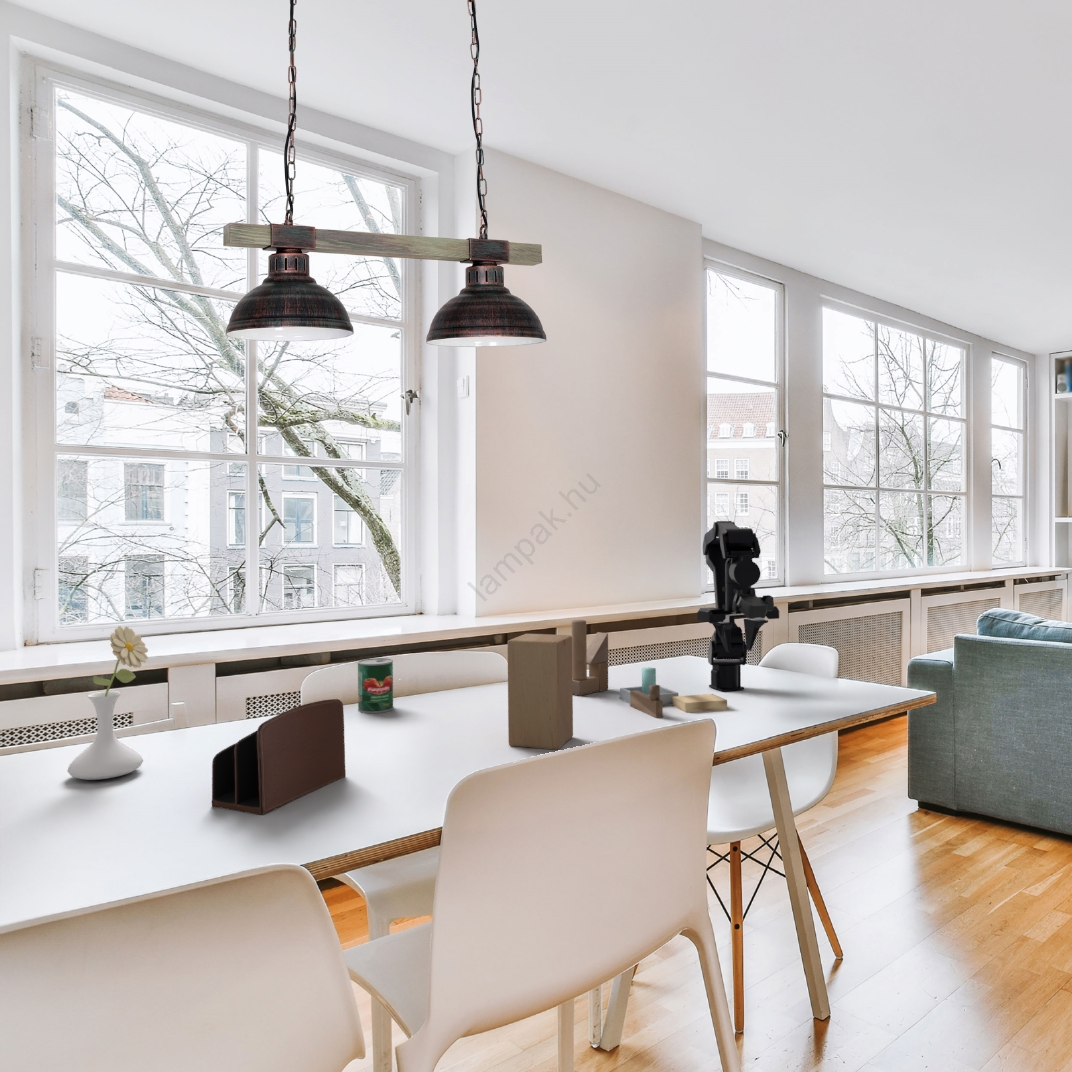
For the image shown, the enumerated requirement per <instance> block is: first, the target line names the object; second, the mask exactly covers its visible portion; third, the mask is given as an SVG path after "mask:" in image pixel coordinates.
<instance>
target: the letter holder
mask: <svg viewBox="0 0 1072 1072" xmlns="http://www.w3.org/2000/svg"><path fill="white" fill-rule="evenodd" d="M345 748H346V745H345V716H344V704H343V702H342V700H340V699H338V698H336V699H335V698H334V699H323V700H319V701H318V700H317V701H313V702H309V703H308V702H307V703H304V704H301V705H297V706H295V707H293V708H290V709H288V710H285V711H283V712H281V713H279V714H277V715H274V716H273V717H271V718H269V719H268V720H265V721H263V722H262V723H260V725H259V726H258V727H257V729H256V730H255V731H253V732H252V733H249V734H248V735H246V736H245V737H243V738H241V739H239V740H238V741H237V742H235V743H233V744H232V745H229V746H227V747H226V748H223V749H221V751H219V752H218V753H216V754H215V756H214V757H213V759H212V763H211V764H212V765H211V767H212V768H211V776H212V777H211V806H212V807H213V808H218V809H224V810H230V811H235V812H241V813H248V814H252V815H260V816H264V815H266V814H268V813H270V812H271V811H274V810H276V809H278V808H281V807H282V806H285V805H287V804H289V803H291V802H293V801H295V800H298V799H300V798H302V797H304V796H307V795H309V794H310V793H313V792H315V791H317V790H319V789H321V788H324V787H327V786H329V785H330V784H332V783H334V782H337V781H339V780H340V779H343V778H345V777H346V772H347V771H346V749H345Z"/></svg>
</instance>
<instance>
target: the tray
mask: <svg viewBox="0 0 1072 1072" xmlns="http://www.w3.org/2000/svg"><path fill="white" fill-rule="evenodd" d="M634 690H637V691H639V692H642V685H641V686H631V687H630V686H629V687H620V688H619V699H620V700H622V701H624V702H626V703H628V704H630V691H634ZM674 696H679V692H677V691H675V690H672V689H669V688H668V687H667V688H666V687H664V686H662V685H660V700H661V701H663V706H669V705H673V697H674Z"/></svg>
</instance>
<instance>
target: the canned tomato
mask: <svg viewBox="0 0 1072 1072" xmlns="http://www.w3.org/2000/svg"><path fill="white" fill-rule="evenodd" d="M393 662H394V659H392V658H387V657H386V658H385V657H384V658H383V657H375V658H374V657H373V658H365V659H360V660H358V661H357V696H358V697H357V700H358V701H357V705H358V706H357V711H358V712H360V713H363V714H380V713H381V714H382V713H386V712H390V711H392V710H393V709H394V670H393V669H394V664H393Z"/></svg>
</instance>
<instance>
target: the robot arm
mask: <svg viewBox="0 0 1072 1072" xmlns="http://www.w3.org/2000/svg"><path fill="white" fill-rule="evenodd" d="M761 551H762V549H761V546H760V542H759V538H758V537H757V534H756V533H755V532H754V530H753V528H751V527H749V528H748V527H744V528H741V527H739V526H737V525H736V524H735V521H732V520H720V521H718V520H717V521H714V522H713V524H712V528H710V529H709V530H708V531H707V532H706V533H704V536H703V542H702V555H703V556H705V557H704V558H705V564H706V565H707V567H708V568H709V569H710V571H711V572H712V574H713V575H712V576H713V577H712V578H713V590H714V592H713V593H714V601H715V607H714V606H713V607H710V606H709V607H700V608H699V609H698V611H697V612H696V616H697V618H696V620H697V621H701V622H706V623H709V624H710V625H711V624H712V626H713V627H714V632H713V634H712V635H711V640H710V641H709V645H708V651H707V660H708V661H707V662H708V664H709V665H710V666H711V668H712V669H711V670H710V684H708V687H709V688H710V689H711V688H712V689H715V690H717V691H720V692H729V691H741V690H745V686H741V684H742V683H741V682H742V681H741V679H742V677H741V676H742V675H741V674H742V673H741V666H746V665H747V657H748V655H747V654H748V651H752V649H753V646H754V644H755V640H756V639H757V635H758V633H759V632H760V629H761V627H762V626H764V625H765V624H767V623H768V622H769V620H777V619H778V620H779V619H780V610H779V608H778V607H777V605H775V603H774V602H775V601H774V597H773V596H772V595H770V594H767V595H762V596H757V594H756V589H755V588H756V587H752V586H753V585H755V584H757V583H758V581H759V580H760V578H761V570H760V567H759V565H758V564H757V563H756V562H754V561H753V559H760V555H761ZM736 618H743V628H744V636H745V637H744V638H745V640H744V638H743V630H742V628H741V626H738V625H737V624H736V621H735V619H736ZM766 618H767V619H768V620H767V619H766Z"/></svg>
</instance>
